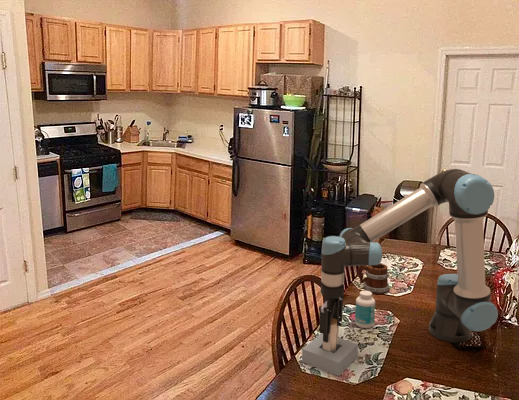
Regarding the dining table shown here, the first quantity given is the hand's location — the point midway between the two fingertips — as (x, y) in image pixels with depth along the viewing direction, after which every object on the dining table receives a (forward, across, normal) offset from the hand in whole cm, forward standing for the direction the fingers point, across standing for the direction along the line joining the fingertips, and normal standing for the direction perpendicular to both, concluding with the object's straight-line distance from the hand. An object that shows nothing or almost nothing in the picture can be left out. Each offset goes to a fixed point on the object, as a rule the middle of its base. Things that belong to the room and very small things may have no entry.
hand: (330, 345), depth 162 cm
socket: (+5, 0, 0) cm, 5 cm away
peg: (+5, 0, 0) cm, 5 cm away
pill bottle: (+5, -30, -1) cm, 30 cm away
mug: (+5, -63, -12) cm, 64 cm away
